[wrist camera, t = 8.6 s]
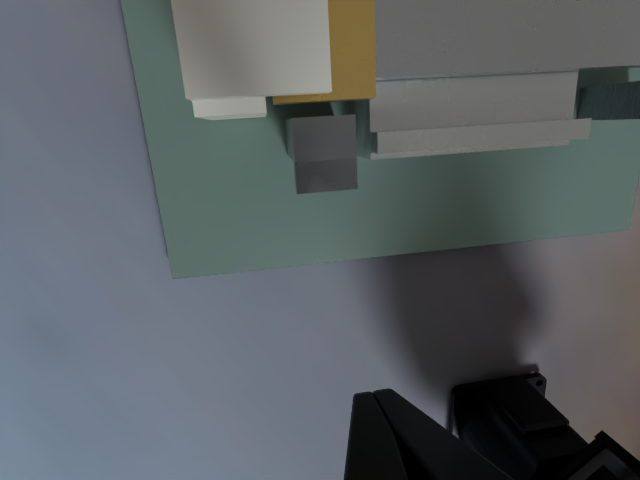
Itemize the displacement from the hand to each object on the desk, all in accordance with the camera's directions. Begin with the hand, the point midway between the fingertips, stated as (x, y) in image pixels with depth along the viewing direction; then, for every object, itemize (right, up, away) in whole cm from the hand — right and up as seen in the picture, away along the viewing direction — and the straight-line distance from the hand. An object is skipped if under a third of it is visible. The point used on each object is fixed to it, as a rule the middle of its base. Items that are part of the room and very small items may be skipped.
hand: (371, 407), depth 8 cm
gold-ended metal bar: (+6, +12, +7) cm, 15 cm away
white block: (-4, +12, +8) cm, 15 cm away
